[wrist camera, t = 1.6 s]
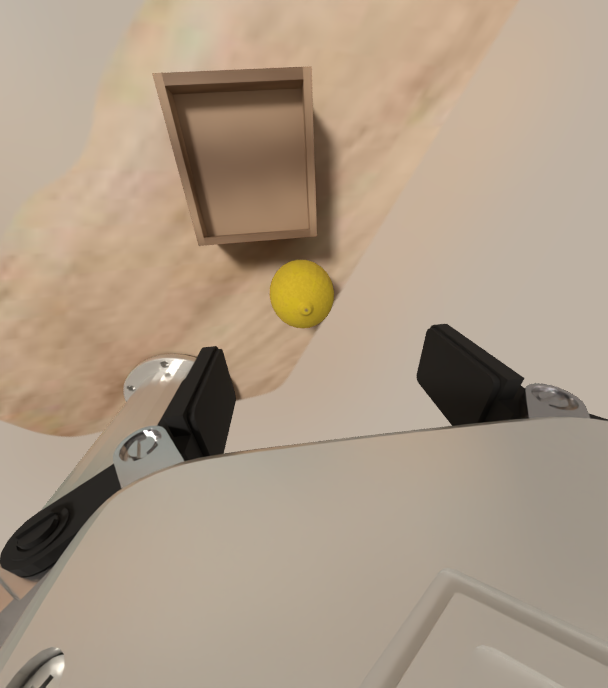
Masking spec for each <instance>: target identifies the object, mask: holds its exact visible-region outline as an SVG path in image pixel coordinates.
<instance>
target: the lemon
mask: <svg viewBox="0 0 608 688" xmlns="http://www.w3.org/2000/svg"><path fill="white" fill-rule="evenodd" d="M270 300H271V304H272V307H273V309H274V311H275V312H276V314H277V315H278V317H279V318H280V319H281V320H282V321H283V322H285V323H287V324H288V325H290V326H293V327H296V328H310V327H313V326H315V325H317V324H319V323H320V322H322V321H323V320H324V319H325V318H326V317H327V316H328V314H329V312H330V310H331V308H332V305H333V301H334V289H333V285H332V281H331V279H330V278H329V276H328V274H327V273H326V271H325V270H324V269H323V268H322V267H321V266H319V265H317V264H316V263H314V262H311V261H308V260H295V261H291V262H288V263H287V264H285V265H283V266H282V267H281V268H280V269H279V270H278V271H277V272H276V274H275V275H274V277H273V279H272V282H271V286H270Z"/></svg>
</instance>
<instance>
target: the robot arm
mask: <svg viewBox="0 0 608 688" xmlns="http://www.w3.org/2000/svg"><path fill="white" fill-rule="evenodd" d="M523 380H524V378H523V377H522V376H520V375H519V374H517V373H516V372H515V371H513V370H512V369H510V368H509V367H507V366H506V365H505V364H503V363H502V362H500V361H499V360H497V359H496V358H495V357H493V356H492V355H490V354H489V353H487V352H486V351H485V350H483V349H482V348H481V347H479V346H478V345H476V344H475V343H473V342H472V341H471V340H469V339H468V338H466V337H465V336H463V335H462V334H460V333H459V332H458V331H456V330H455V329H453V328H452V327H450V326H449V325H448V324H439V325H433V326H431V328H430V329H428V330H427V332H426V336H425V341H424V345H423V350H422V354H421V359H420V363H419V367H418V371H417V381H418V382H419V384H420V385H421V387H422V388H423V389H424V390H425V392H426V393H427V394H428V395H429V397H430V398H431V399H432V401H433V402H434V403H435V404H436V406H437V407H438V408H439V410H440V411H441V412H442V413H443V415H444V416H445V417H446V418H447V420H448V421H449V422H450V423H451V425H452V426H448V427H439V428H430V429H420V430H411V431H404V432H394V433H385V434H378V435H368V436H360V437H351V438H343V439H334V440H326V441H318V442H310V443H302V444H294V445H285V446H278V447H269V448H261V449H254V450H247V451H240V452H232V453H225V454H224V449H225V445H226V440H227V436H228V432H229V427H230V423H231V419H232V415H233V410H234V406H235V401H236V397H235V392H234V389H233V385H232V382H231V378H230V374H229V371H228V367H227V364H226V360H225V357H224V353H223V350H222V349H218V348H217V346H213V347H204V348H202V349H201V351H200V353H199V355H198V357H197V358H196V357H192V356H188V355H182V354H163V355H158V356H154V357H151V358H149V359H147V360H144V361H143V362H141V363H140V364H139V365H137V366H136V367H135V368H134V369H133V370H132V371H131V372H130V374H129V375H128V377H127V379H126V380H125V384H124V397H125V400H126V403H125V405H124V406H123V407H122V408H121V410H120V411H119V412H118V413H117V415H116V416H115V417H114V418H113V420H112V421H111V422H110V424H109V425H108V426H107V427H106V429H105V430H104V431H103V432H102V434H101V435H100V436H99V437H98V439H97V440H96V441H95V443H94V444H93V445H92V446H91V448H90V449H89V450H88V451H87V453H86V454H85V455H84V457H83V458H82V459H81V460H80V461H79V463H78V464H77V465H76V467H75V468H74V469H73V471H72V472H71V473H70V474H69V476H68V477H67V478H66V479H65V480H64V482H63V483H62V484H61V486H60V487H59V488H58V489H57V491H56V492H55V493H54V494H53V496H52V497H51V498H50V499H49V501H48V502H47V503H46V505H45V506H44V507H43V509H42V510H41V511H40V512H38V513H37V514H36V515H34V516H33V517H31V518H30V519H29V520H27V521H26V522H25V523H24V524H23V525H22V526H21V527H20V528H19V529H18V530H17V531H16V532H15V533H14V534H13V535H12V537H11V538H10V539H9V540H8V542H7V543H6V545H5V547H4V549H3V550H2V552H1V557H0V688H608V419H604V418H601V417H598V416H595V415H592V414H589V413H588V411H587V408H586V406H585V405H584V403H583V402H582V401H581V400H580V399H579V398H578V397H576V396H575V395H573V394H571V393H570V392H568V391H566V390H563V389H561V388H558V387H555V386H552V385H547V384H539V383H538V384H536V383H535V384H530V385H528V386H526V388H523V387H522V386H521V383H522V382H523Z"/></svg>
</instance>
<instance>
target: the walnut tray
mask: <svg viewBox="0 0 608 688" xmlns="http://www.w3.org/2000/svg"><path fill="white" fill-rule="evenodd" d="M152 74H153V78H154V82H155V85H156V89H157V93H158V97H159V100H160V104H161V108H162V111H163V115H164V119H165V123H166V126H167V130H168V134H169V137H170V141H171V145H172V148H173V152H174V156H175V160H176V163H177V167H178V171H179V174H180V178H181V182H182V186H183V189H184V193H185V197H186V200H187V204H188V208H189V211H190V215H191V219H192V223H193V226H194V230H195V234H196V237H197V241H198V245H199V246H202V245H214V244H227V243H239V242H252V241H264V240H276V239H289V238H301V237H314V236H317V221H316V190H315V160H314V129H313V99H312V68H311V67H288V68H266V69H243V70H220V71H197V72H174V73H152Z"/></svg>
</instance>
